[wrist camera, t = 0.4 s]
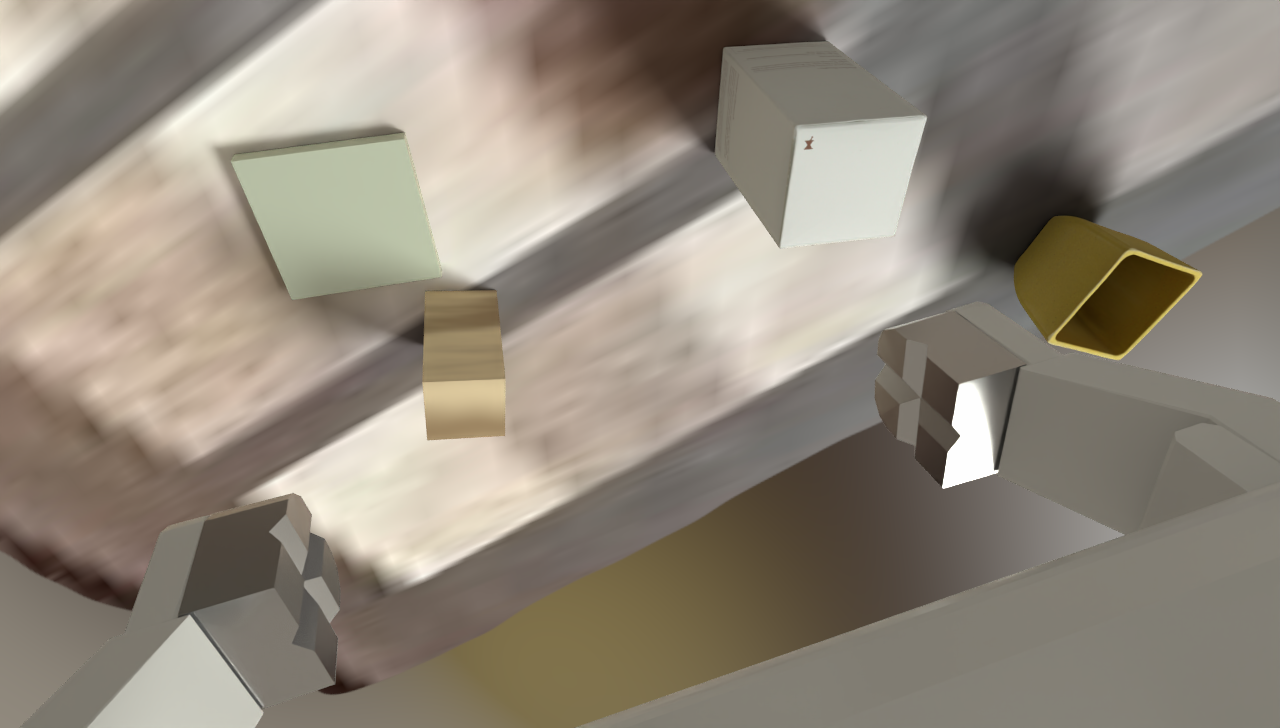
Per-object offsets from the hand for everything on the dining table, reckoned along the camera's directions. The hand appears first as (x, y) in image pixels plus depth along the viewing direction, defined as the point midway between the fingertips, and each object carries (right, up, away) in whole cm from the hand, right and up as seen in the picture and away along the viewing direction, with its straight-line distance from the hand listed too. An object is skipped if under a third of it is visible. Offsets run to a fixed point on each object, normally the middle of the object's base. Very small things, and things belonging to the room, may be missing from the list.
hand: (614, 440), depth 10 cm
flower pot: (+35, +11, +52) cm, 64 cm away
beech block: (-13, +4, +45) cm, 47 cm away
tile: (-19, +11, +38) cm, 43 cm away
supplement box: (+9, +19, +39) cm, 44 cm away
